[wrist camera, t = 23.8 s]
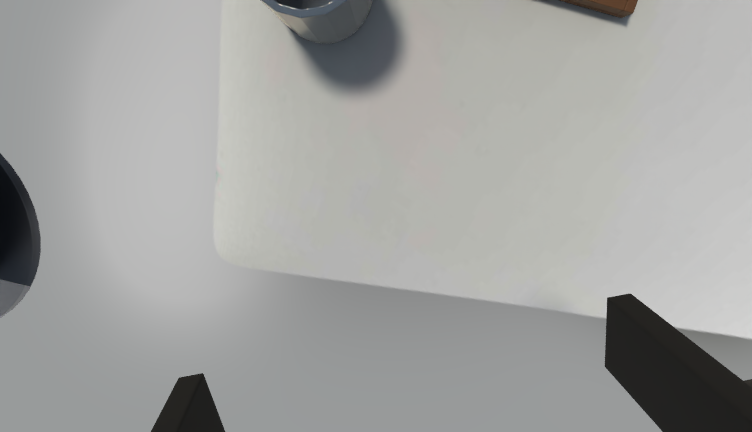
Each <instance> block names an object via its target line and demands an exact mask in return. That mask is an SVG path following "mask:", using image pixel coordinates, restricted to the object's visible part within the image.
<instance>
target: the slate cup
mask: <svg viewBox="0 0 752 432" xmlns="http://www.w3.org/2000/svg"><path fill="white" fill-rule="evenodd" d="M260 1H262V2H263V3H264V4H265V5H266V6H267V7H268V8H269V9H270V10H271V11H272V12H273V13H274V14H275V15H276V16H277V17H278V18H279V19H280V20H281V21H282V22H283V23H285V24H286V25H287V26H288V27H289V28H290V29H292V30H293V31H294V32H295V33H296V34H298V35H299V36H300V37H302V38H303V39H306V40H309V41H312V42H315V43H322V44H329V43H335V42H339V41H342V40H344V39H346V38H348V37H350V36H351V35H352V34H354V33H355V32H356V31H357V30H358V29H359V28H360V27H361V25H362V24H363V23H364V21H365V19H366V18H367V15H368V13H369V11H370V7H371V4H372V0H260Z"/></svg>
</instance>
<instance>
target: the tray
mask: <svg viewBox="0 0 752 432" xmlns="http://www.w3.org/2000/svg"><path fill="white" fill-rule="evenodd" d="M560 1H563V2H567V3H570V4H574V5H577V6H581V7H585V8H588V9H592V10H595V11H599V12H602V13H606V14H609V15H613V16H616V17H620V18H623V17H625V16H627V15H630V14H632V13H633V12H634V9H635V7H636V4H637V1H638V0H560Z"/></svg>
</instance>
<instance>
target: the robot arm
mask: <svg viewBox="0 0 752 432" xmlns="http://www.w3.org/2000/svg"><path fill="white" fill-rule="evenodd" d="M606 324H607V325H606V350H605V367H606V368H607V369H608V371H609V372H610V373H611V374H612V375H613V376H614V377H615V378H616V380H617V381H618V382H619V383H620V384H621V385H622V386H623V387H624V389H625V390H626V391H627V392H628V393H629V394H630V395H631V396H632V398H633V399H634V400H635V401H636V402H637V403H638V404H639V405H640V407H641V408H642V409H643V410H644V411H645V412H646V413H647V414H648V415H649V417H650V418H651V419H652V420H653V421H654V422H655V423H656V424H657V426H658V427H659V428H660V429H661V430H662V431H663V432H752V379H751V380H746V381H743V380H741V379H740V378H739V377H737V376H736V375H735V374H733V373H732V372H731V371H730V370H728V369H727V368H726V367H724V366H723V365H722V364H721V363H719V362H718V361H717V360H715V359H714V358H713V357H712V356H710V355H709V354H708V353H706V352H705V351H704V350H702V349H701V348H700V347H699V346H697V345H696V344H695V343H693V342H692V341H691V340H690V339H688V338H687V337H685V336H684V335H683V334H682V333H680V332H679V331H678V330H677V329H675V328H674V327H673V326H672V325H670V324H669V323H668V322H666V321H665V320H664V319H663V318H661V317H660V316H659V315H657V314H656V313H655V312H654V311H652V310H651V309H650V308H648V307H647V306H646V305H645V304H643V303H642V302H641V301H639V300H638V299H637V298H636V297H634V296H633V295H632V294H626V295H620V296H615V297H609V298H607V323H606ZM151 432H225V430H224V427H223V425H222V423H221V420H220V417H219V414H218V412H217V409H216V406H215V404H214V401H213V398H212V396H211V393H210V391H209V388H208V385H207V383H206V380H205V377H204V374H203V373H202V374H197V375H191V376H186V377H181V378H179V379H178V381H177V383H176V384H175V386H174V388H173V390H172V392H171V394H170V396H169V398H168V400H167V402H166V404H165V406H164V408H163V410H162V412H161V413H160V415H159V417H158V419H157V421H156V423H155V425H154V427H153V429H152V431H151Z"/></svg>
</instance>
